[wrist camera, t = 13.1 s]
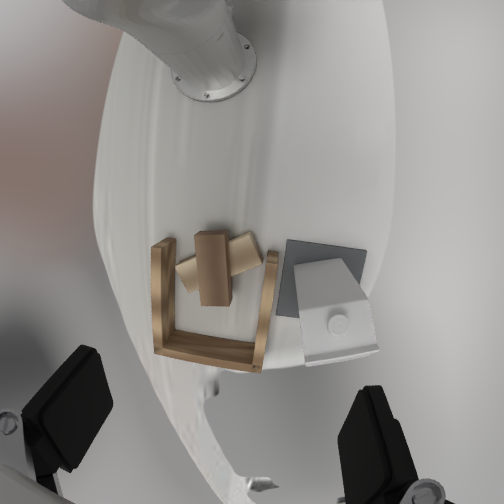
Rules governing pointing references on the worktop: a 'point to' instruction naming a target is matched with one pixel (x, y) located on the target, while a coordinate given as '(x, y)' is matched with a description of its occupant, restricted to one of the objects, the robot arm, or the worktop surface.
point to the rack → (198, 345)
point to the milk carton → (333, 313)
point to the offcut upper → (213, 267)
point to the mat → (304, 254)
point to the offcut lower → (241, 260)
